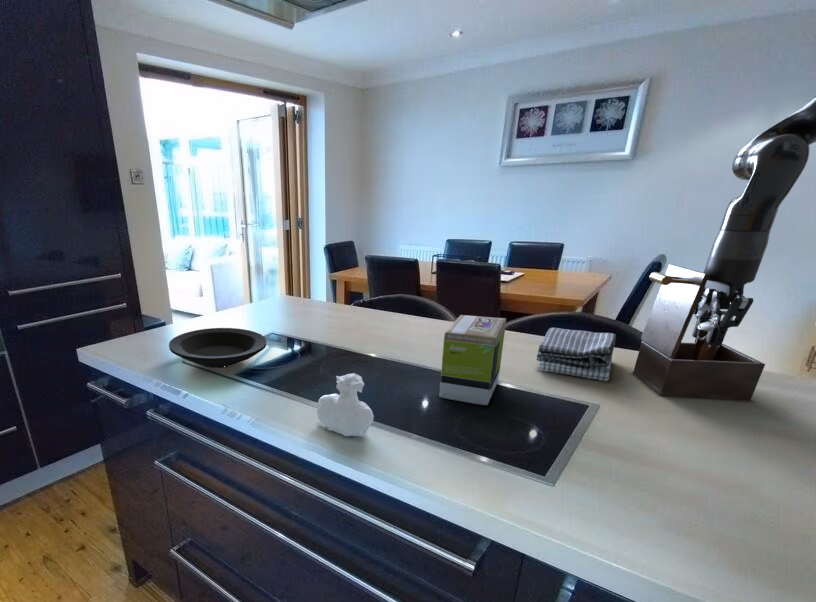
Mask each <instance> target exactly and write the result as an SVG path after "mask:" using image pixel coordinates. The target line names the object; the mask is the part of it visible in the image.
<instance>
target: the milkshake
mask: <svg viewBox="0 0 816 602" xmlns="http://www.w3.org/2000/svg"><path fill="white" fill-rule="evenodd" d="M710 321H711V320H710ZM710 321H707V322H704V323H701V324H700V321H699V318H698V323H699V325H698V329H697V334H696V338H695V340H694V342H693V343H694V347H693V351H692V355H691V359H690V360H706V361H713V359H714V357H715V355H716V353H717V351H718V349H719V346H712V345H709V344H707V341H708V338H709V335H710V332H711V329H712V327H714V326H713V323H714V321H711V322H710ZM728 330H729V328H728V329H727V331H728Z"/></svg>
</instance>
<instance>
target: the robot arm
mask: <svg viewBox="0 0 816 602" xmlns="http://www.w3.org/2000/svg"><path fill="white" fill-rule="evenodd" d="M814 143H816V95H815V96H814V97H812V98H811V99H810V100H809V101H808V102H807V103H806V104H805V105H803V106H802V107H801V108H799V109H797V110H796V111H794V112H793V113H791V114H789V115H788V116H786V117H784V118H782V119H781V120H779V121H778V122H776V123H775V124H773V125H771V126H769V127H768V128H766V129H765V130H763V131H762V132H761V133H758V135H755V137H753V138H752V139H750V141H748V142H747V143H746V144H744V146H742V147H741V148H740V149H739V151H738V152H737V153H736V155H735V156H734V158H733V160H732V164H731V171H732V173H733V175H734V176H735V177H736V178H737V179H740V180H743V181H748V183H747V184H746V186H745V188H744V190H743V192H742V194H740V195H739V196H736V197H734V198H732V199H731V200H730V201H729V202H728V204H727V206H726V207H725V211H724V214H723V217H722V219H721V223H720V226H719V229H718V232H717V234H716V236H715V238H714V240H713V242H712V244H711V245H712V246H711V248H710V252H709V255H708V258H707V261H706V263H705V267H704V270H703V273H706V274H709V278H708V280H707V282H706V285H705V287H704V290H703V292H702V294H701V297H700V299H699V301H698V304H697V306H696V308H695V311H694V313H693V315H695V316H694V319H695V320H696V322H695V325H694V327H693V330H692V334H691V336H692V337H693V338H695V339H696V334H697V329H698V325H699V323H698V318H699V321H700V324H701V323H704V322H707V321H710V322H712V319H713V322H714V323H713V326H714V327H712V329H711V332H710V335H709V338H708V341H707V344H709V345H712V346H720V345H721V344H723V342H724V341H725V337H726V335H727V333H728V330H729V329H730V328H738V327H739V326H740V324H742V321H743V320H744V318H745V316H746V315H747V313H748V312H749V310H750V308H751V306H752V305H753V303H754V298H753V297H746V296H744V292H745V291H744V288H745V285H747V284H750V283H752V282H754V281H755V279H756V277H757V274H758V272H759V268H760V266H761V263H762V260H763V259H764V255H765V252H766V249H767V247H768V243H769V239H770V234H771V230H772V228H773V225H774V223H775V220H776V217H777V214H778V211H779V208H780V206H781V204H782V203H783V201H784V200H785V199H786V198H787V197H788V195H789V193H790V192H791V190H792V189H793V187H794V186H795V184H796V183H797V181H798V180H799V178H800V177H801V175H802V173H803V172H804V170H805V169H806V165H807V163H808V160H809V157H810V150H811V149H810V146H811V145H812V144H814ZM722 316H723V317H722ZM734 317H735V318H734ZM727 329H728V330H727Z"/></svg>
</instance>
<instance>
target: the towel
mask: <svg viewBox="0 0 816 602" xmlns="http://www.w3.org/2000/svg"><path fill="white" fill-rule="evenodd" d="M616 341H617V335H616V334H615V333H612V332H593V331H588V330H577V329H575V330H574V329H567V328H565V329H564V328H560V327H559V328H558V327H550V328H548V330H547V331H546V333H545V335H544V337H543V339H542V340H541V342H540V344H539V345H538V350H537V352H536V358H535V359H536V361H537V362H539V370H540V371H543V372H550V373H556V374H561V375H566V376H567V375H568V376H572V377H574V376H575V377H579V378H580V377H581V378H585V379H589V380H590V379H592V380H597V381H603V382H608V381H609V380H610V374H611V373H610V371H611V369H612V361H613V354H614V349H615V346H616Z"/></svg>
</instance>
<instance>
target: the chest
mask: <svg viewBox="0 0 816 602" xmlns="http://www.w3.org/2000/svg"><path fill="white" fill-rule="evenodd" d="M694 343H695V342H681V344H680V346H679V349H678V351H677V353H676V356H675V358H670V357H668V356H667V355H665V354H664V353H662V352H660V351H659V350H657V349H656V348H654V347H653V346H651V345H649V344H648V343H646V342H645V341H643V340H641V344H640V347H639V351H638V353H637V357H636V361H635V365H634V368H633V371H632V374H633V375H634V376H636V377H637V378H638V379H639V380H640V381H641V382H643V383H644V384H645V385H646V386H648V387H649V388H650V389H651V390H653V391H654V392H655V393H656V394H658V395H659V396H660V397H677V398H691V399H692V398H694V399H713V400H729V401H746V402H749V401H751V400H752V398H753V396H754V393H755V391H756V388H757V386H758V383H759V382H760V381H759V380H760V379H761V376H762V374H763V371H764V368H765V366H766V363H764V362H762V361H760V360H758V359H756V358H754V357H752V356H749V355H747V354H745V353H744V352H741V351H739V350H737V349H735V348H732V347H730V346H729V345H726V344H724V343H722V344H721V345H720V346H719V349H718V351H717V353H716V355H715V357H714V359H713V361H706V360H690V359H691V355H692V351H693V347H694Z"/></svg>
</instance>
